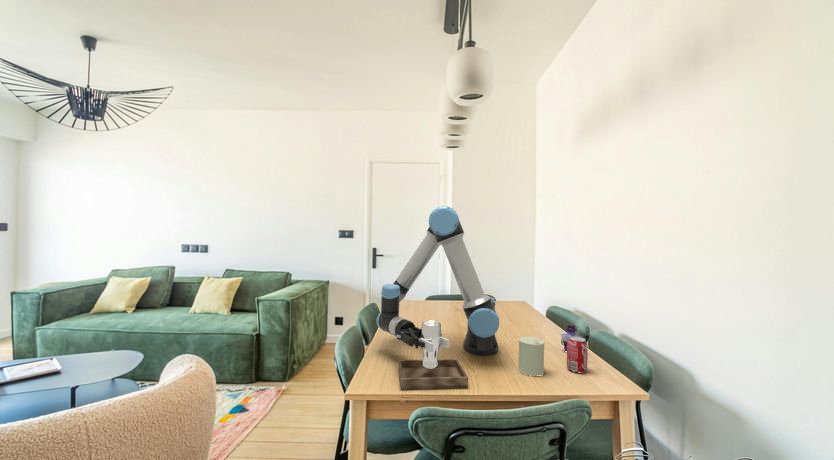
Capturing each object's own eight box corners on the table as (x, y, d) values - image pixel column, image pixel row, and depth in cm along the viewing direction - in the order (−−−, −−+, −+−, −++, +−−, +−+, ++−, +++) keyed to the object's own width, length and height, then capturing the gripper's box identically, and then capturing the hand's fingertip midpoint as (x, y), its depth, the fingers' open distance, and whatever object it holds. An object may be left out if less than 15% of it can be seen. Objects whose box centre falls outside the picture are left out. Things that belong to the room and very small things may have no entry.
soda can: (585, 368, 127) (586, 337, 128) (588, 375, 121) (589, 342, 121) (565, 365, 130) (566, 334, 130) (567, 372, 123) (568, 340, 123)
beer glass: (438, 371, 112) (440, 326, 112) (418, 369, 113) (419, 324, 113) (441, 363, 118) (442, 321, 118) (422, 361, 120) (423, 319, 120)
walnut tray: (457, 368, 125) (457, 359, 125) (467, 388, 109) (468, 377, 109) (398, 369, 122) (398, 360, 122) (400, 390, 106) (400, 379, 107)
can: (531, 378, 117) (531, 344, 117) (512, 369, 125) (513, 337, 126) (549, 374, 121) (550, 341, 122) (530, 365, 130) (531, 334, 130)
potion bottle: (556, 348, 149) (557, 321, 149) (575, 348, 150) (576, 322, 150) (566, 355, 141) (566, 327, 141) (586, 355, 141) (586, 327, 141)
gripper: (422, 334, 136) (461, 351, 117) (380, 342, 125) (416, 363, 106) (422, 316, 136) (461, 330, 117) (381, 322, 125) (417, 339, 106)
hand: (440, 345), depth 112 cm, fingers closed on beer glass, 6 cm apart
